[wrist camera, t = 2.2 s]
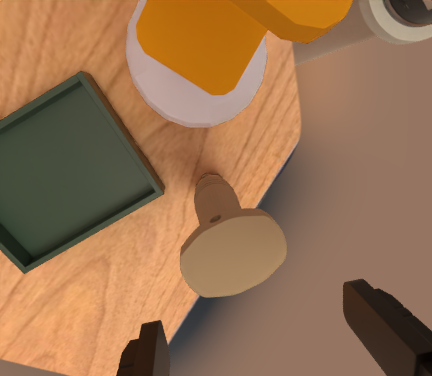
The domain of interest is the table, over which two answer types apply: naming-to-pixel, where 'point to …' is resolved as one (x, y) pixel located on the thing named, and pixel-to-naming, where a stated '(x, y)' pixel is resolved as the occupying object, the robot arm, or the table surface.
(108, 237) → the table surface
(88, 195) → the brush tray
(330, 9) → the soap bottle
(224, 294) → the handle
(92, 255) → the table surface
